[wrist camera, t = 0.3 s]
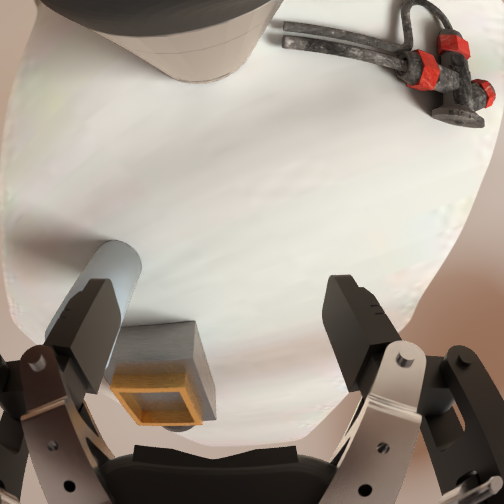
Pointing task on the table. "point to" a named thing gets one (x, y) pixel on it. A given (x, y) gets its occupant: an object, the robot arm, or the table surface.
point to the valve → (412, 63)
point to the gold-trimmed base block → (162, 376)
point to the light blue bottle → (108, 276)
